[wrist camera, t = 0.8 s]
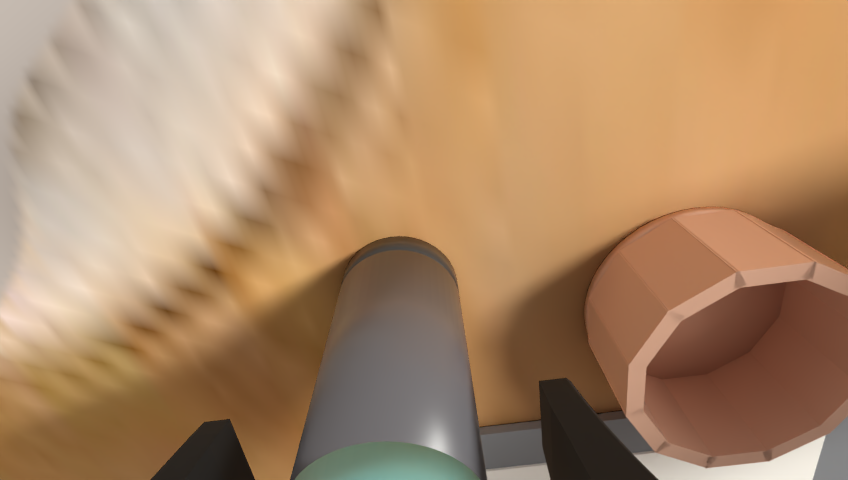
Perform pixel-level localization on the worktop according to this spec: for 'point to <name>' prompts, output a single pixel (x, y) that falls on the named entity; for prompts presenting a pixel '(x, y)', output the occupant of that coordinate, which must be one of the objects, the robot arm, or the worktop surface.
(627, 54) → the worktop surface
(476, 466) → the marker
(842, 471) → the writing mat
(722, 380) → the pen cup
